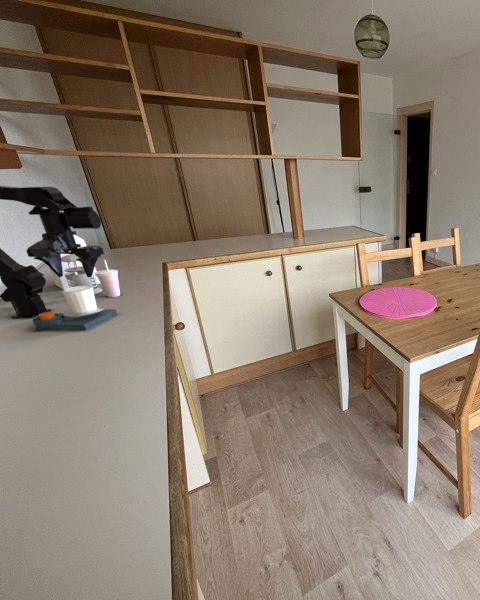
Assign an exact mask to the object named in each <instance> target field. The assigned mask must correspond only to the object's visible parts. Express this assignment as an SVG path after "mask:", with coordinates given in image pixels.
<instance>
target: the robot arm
mask: <svg viewBox="0 0 480 600" xmlns="http://www.w3.org/2000/svg"><path fill="white" fill-rule="evenodd" d="M0 200H4V201H12V202H13V201H14V202H19V203H23V204H25V205H28V206H33V208H32V209H31V210H30V211H28V215H30V216H36V215H37V216H39V219H40V221H41V224H42V226H43V229H44V233H41V240H38V241H37V242H34V243H33V244H32V245H29V247H28V248H27V249H26V254H27V257H29V258H33V260H36V261H37V260H38V261H40V262H43V263H44V264H45V265H46V266H47V267H48V268H49V269H50V268H51V269H52V270H53V272H54V273H55V274H56V275H57V276H58V277H62V276H63V269H62V262H61V255H60V254H75V255H76V256H77V257H78V258H77V259H76V260H78V261H80V262H81V263H82V266H83V268H84V271H85V273H86V275H87V277H92V274H93V270H94V267H95V268H96V263H97V261H98V259H99V258H101V256H102V255H105V253H104V249H103V247H101V246H100V245H86V246H85V247H81V245H80V244H76V242H75V239H74V236H73V235H76V236H77V235H78V234H77V231H76V230H90V229H91V230H93V229H95V230H96V229H97V230H98V229H100V228H101V226H102V219H101V217H100V216H99V214H98V212H96V211H95V210H94V208H93V206H77V205H76V204H74V203H73V202H72V201H70V200H69V199H68V198H67V197H65V195H64V193H63V192H62V191H61V190H59V189H58V188H57V187H55V186H26V187H17V186H9V185H8V186H7V185H0ZM72 229H74V230H72ZM42 238H43V240H42ZM78 247H80V248H78ZM69 251H71V252H69ZM44 276H45V274H44V273H42V272H41V271H39V270H38V269H37V268H36V266H34V265H33V264H30V265H27V266H26V265H23V264H20V263H18V262H17V261H16V260H15V259H14V258H12V257H11V256H10V255H9V254H8V253H7V252H5V251H4V250H3V249H2V248H1V247H0V281H1V283H2V284H3V285H4V286H5V287H6V288H5V290H3V291H2V293H1V294H0V299H1V300H2V301H3V302H5V303H9V302H10V304H11V305H12V308H13V310H14V312H15V314H14V315H11V316H10V317H11V318H12V319H34V318H37V317H39V316H38V315H39V314H41V313H45V312H52V308H47V307H46V304H45V302H44V300H43V299H42V297H41V295H40V294H41V293H44V287H45V286H46V282H47V279H46V278H45V277H44Z"/></svg>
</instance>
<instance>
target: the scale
mask: <svg viewBox="0 0 480 600" xmlns="http://www.w3.org/2000/svg"><path fill="white" fill-rule="evenodd" d="M54 313H55V316H56V317H54V318H51V319H46V320H40V318H39V316H36V317H33V318H32V324H33V325H34V328H35V330H36V331H88V330H91V329H92V328H94V327H96V326H98V325H99V324H102V323H104V322H106V321H108V320H110V319H111V318H113V317H116V316H118V311H117V309H116V308H115V309H107V308H106V309H104V310H103V311H100V312H98V313H95V314H91V315H86V316H80V317H65V316H63V312H54Z"/></svg>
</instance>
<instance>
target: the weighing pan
mask: <svg viewBox="0 0 480 600" xmlns="http://www.w3.org/2000/svg"><path fill="white" fill-rule="evenodd" d="M96 306H97V308H96V309H94V310H92V311H88V312H83V313H73V312H72V310H71V308H69V309H67V310H64V311H63V312H62V313H63V316H65V317H80V316H86V315H91V314H95V313H98V312H100V311H103V310H104V309H107V304H104V303H96Z"/></svg>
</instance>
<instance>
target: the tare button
mask: <svg viewBox="0 0 480 600" xmlns="http://www.w3.org/2000/svg"><path fill="white" fill-rule="evenodd" d="M55 313H56V312H54V311H49V312H45V313H41V314H39V315H38V316H37V317H39V318H40V320H46V319H51V318H54V317H56V316H55Z"/></svg>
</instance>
